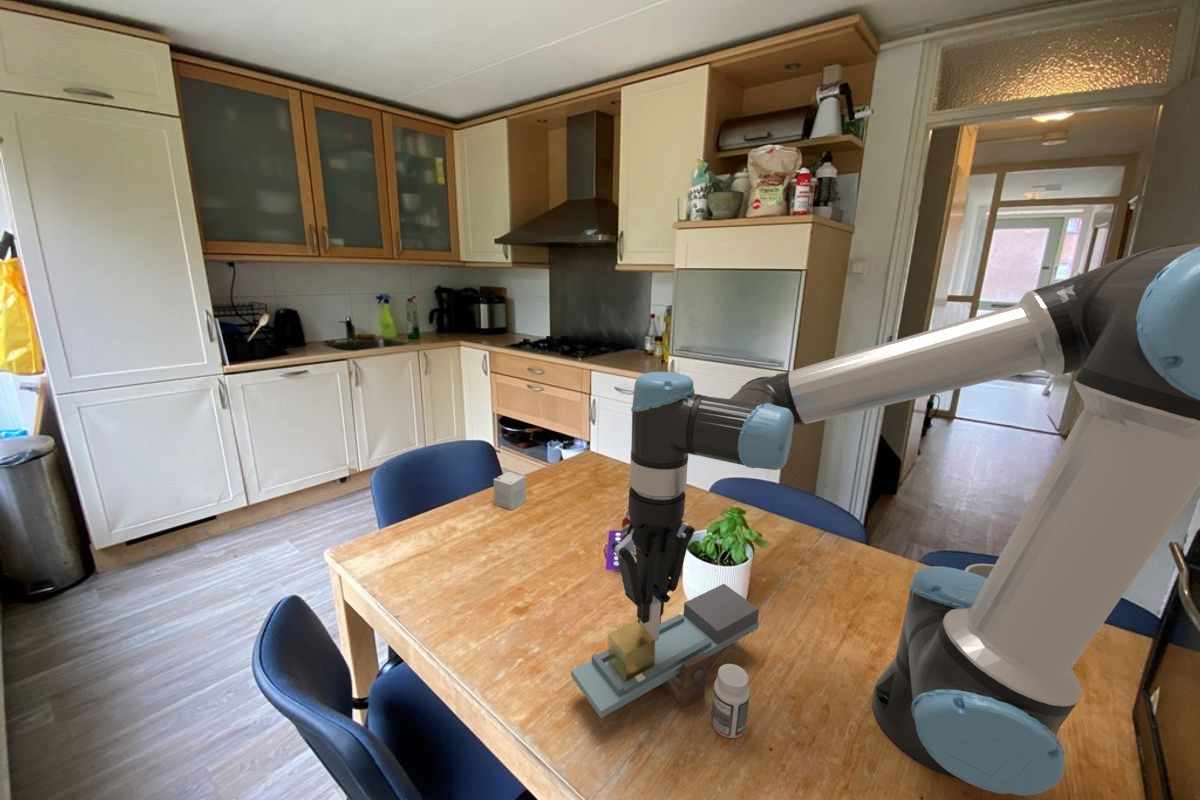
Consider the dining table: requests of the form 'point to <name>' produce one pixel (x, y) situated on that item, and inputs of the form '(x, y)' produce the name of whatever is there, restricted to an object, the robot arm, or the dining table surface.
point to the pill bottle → (730, 701)
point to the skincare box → (510, 490)
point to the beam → (671, 648)
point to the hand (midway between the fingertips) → (648, 636)
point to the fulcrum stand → (688, 680)
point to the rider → (631, 651)
